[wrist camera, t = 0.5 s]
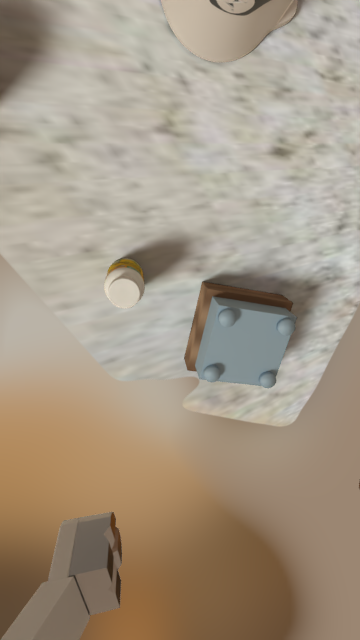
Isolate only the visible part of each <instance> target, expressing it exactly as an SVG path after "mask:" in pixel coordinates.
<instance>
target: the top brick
mask: <svg viewBox="0 0 360 640" xmlns="http://www.w3.org/2000/svg"><path fill="white" fill-rule="evenodd" d="M296 319H297V317H296V316H295V315H293V314H292V313H291V312H290V311H288V310H287V309H286V308H282V307H276V306H269V305H263V304H257V303H251V302H245V301H239V300H233V299H226V298H220V297H214V296H212V300H211V304H210V308H209V312H208V316H207V320H206V324H205V328H204V332H203V336H202V340H201V344H200V348H199V352H198V356H197V360H196V363H195V367H196V370H197V373H198V376H199V379H203V380H207V381H208V382H215V381H221V382H230V383H239V384H249V385H258V386H263V387H264V388H271V387H273V386H274V385H275V383H276V375H277V372H278V369H279V367H280V364H281V361H282V358H283V355H284V353H285V350H286V347H287V344H288V341H289V339H290V336H291V334H292V333H293V332H294V330H295V322H296Z"/></svg>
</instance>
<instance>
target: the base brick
mask: <svg viewBox="0 0 360 640" xmlns="http://www.w3.org/2000/svg"><path fill="white" fill-rule="evenodd" d="M212 296H214V297H220V298H226V299H233V300H239V301H245V302H251V303H257V304H263V305H269V306H276V307H282V308H286V309H287V310H288V311H290V310H291V308H292V305H293V303H292V302H291V301H290V300H288V299H287V298H285V297H284V296H283V295H278V294H272V293H266V292H260V291H254V290H249V289H243V288H237V287H231V286H225V285H219V284H213V283H208V282H202V285H201V290H200V294H199V298H198V302H197V306H196V311H195V315H194V319H193V323H192V328H191V332H190V336H189V340H188V345H187V349H186V353H185V357H184V359H185V363H186V366H187V370H189V371H197V370H196V367H195V363H196V360H197V356H198V352H199V348H200V344H201V340H202V336H203V332H204V328H205V324H206V320H207V316H208V312H209V308H210V304H211V300H212Z"/></svg>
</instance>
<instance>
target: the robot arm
mask: <svg viewBox="0 0 360 640" xmlns="http://www.w3.org/2000/svg"><path fill="white" fill-rule="evenodd" d="M161 3H162V6H163V9H164V12H165V15H166V18H167V20H168V23H169V25H170V27H171V29H172V30H173V32H174V34H175V35H176V37H177V38H178V39H179V41H180V42H181V43H182V44H183V45H184V46H185V47H186V48H187V49H188V50H189V51H191V52H192V53H193V54H195V55H196V56H198V57H200V58H202V59H205V60H208V61H212V62H230V61H234V60H237V59H239V58H241V57H243V56H245V55H247V54H248V53H249V52H251V51H252V50H253V49H254V48H255V47H256V46H257V45H258V44H259V43H260V42H261V41H262V40H263V39H264V38H265V36H266V35H267V34H268V33H270V32H271V31H273V30H275V29H277V28H280V27H282V26H284V25H285V24H287V23H288V22H290V20H291V19H292V18H293V16H294V15H295V13H296V10H297V3H298V0H161ZM359 489H360V482H359ZM115 525H116V518H115V515H114V512H109V513H104V514H98V515H92V516H87V517H81V518H75V519H70V520H65V521H63V522H62V524H61V526H60V530H59V534H58V538H57V543H56V548H55V551H54V556H53V560H52V565H51V569H50V574H49V578H48V582H44V583H42V584H41V586H40V587H39V588H38V590H37V591H36V593H35V594H34V595H33V596H32V598H31V599H30V601H29V602H28V603H27V605H26V606H25V608H24V609H23V610H22V611H21V613H20V614H19V616H18V617H17V618H16V620H15V621H14V623H13V624H12V625H11V627H10V628H9V629H8V631H7V632H6V633H5V635H4V636H3V637H2V639H1V640H79V639H80V637H81V635H82V633H83V631H84V629H85V627H86V625H87V622H88V621H89V619H90V616H89V615H93V614H97V613H101V612H105V611H109V610H113V609H116V608H120V594H121V593H120V592H121V579H120V576H119V572H118V569H119V567H120V566H121V564H122V546H121V537H120V532H119V529H118V528H117V527H115Z"/></svg>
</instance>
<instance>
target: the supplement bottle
mask: <svg viewBox="0 0 360 640" xmlns="http://www.w3.org/2000/svg"><path fill="white" fill-rule="evenodd" d="M104 289H105V293H106V295H107V297H108V298H109V300H110V301H111V302H112V303H113V304H114V305H115V306H117V307H119V308H130V307H132V306H134V305H135V304H136V303H137V302H138V301H139V300H140V299H141V297H142V296H143V293H144V289H145V285H144V277H143V271H142V269H141V267H140V266H139V264H138V263H137V262H135V261H134V260H131V259H127V258H123V259H119V260H117V261H115V262H114V263H112V265H111V266H110V267H109V270H108V273H107V276H106V279H105V284H104Z"/></svg>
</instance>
